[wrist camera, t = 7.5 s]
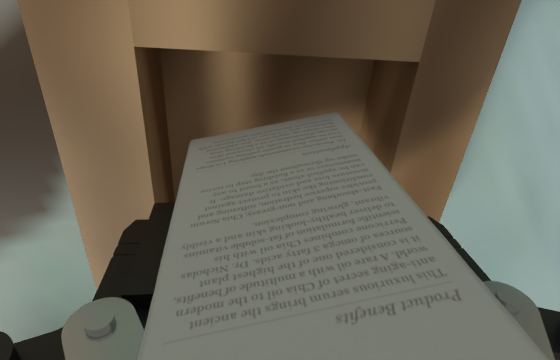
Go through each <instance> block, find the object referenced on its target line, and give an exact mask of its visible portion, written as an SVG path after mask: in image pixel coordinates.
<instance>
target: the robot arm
mask: <svg viewBox="0 0 560 360" xmlns="http://www.w3.org/2000/svg"><path fill="white" fill-rule="evenodd" d="M174 206H175V203H154V205H153V208H152V211H151V214H150V217H149V219H138V220H135V221H134V222H133V223H131V224H130V225H129V226H128V227H127V228H126V229H125V230H124V231H123V233H122V235H121V237H120V240H119V242H118V246H117V247H116V249H115V251H114V253H113V257H112V258H111V260H110V262H109V265H108V267H107V269H106V271H105V274H104V276H103V278H102V280H101V283H100V285H99V287H98V289H97V292H96V294H95V296H94V299H93V301H92V302H90V303H88V304H86V305H84V306H82V307H81V308H80V309H78V310H77V311H76V312H75V313H73V314H72V315H71V316H70V318H69V319H68V320H67V322H66V323H65V325H64V327H62V328H60V329H58V330H56V331H53V332H50V333H47V334H43V335H40V336H37V337H34V338H30V339H27V340H24V341H21V342H17V343H14V344H13V342H12V340H11V338H10V337H9V336H8V335H7V334H6V333H4V332H0V360H137V359H138V355H139V351H140V347H141V342H142V338H143V334H144V330H145V327H146V323H147V318H148V314H149V309H150V305H151V301H152V298H153V294H154V290H155V285H156V281H157V276H158V272H159V268H160V263H161V259H162V255H163V251H164V247H165V243H166V238H167V235H168V231H169V226H170V222H171V218H172V214H173V210H174ZM427 217H428V218H429V220H430V221H431V222H432V223H433V224H434V225H435V227H436V228H437V229H438V230H439V231H440V232H441V234H442V235H443V236H444V237H445V238H446V239H447V241H448V242H449V243H450V244H451V245H452V247H453V248H454V249H455V250H456V252H457V253H458V254H459V255H460V256H461V257H462V259H463V260H464V261H465V262H466V263H467V265H468V266H469V267H470V268H471V269H472V270H473V272H474V273H475V274H476V275H477V276H478V277H479V278H480V280H481V281H482V282H483V283H484V284H485V285H486V286H487V287H488V289H489V290H490V291H491V292H492V294H493V295H494V296H495V297H496V298H497V299H498V301H499V302H500V303H501V304H502V305H503V306H504V307H505V309H506V310H507V311H508V312H509V313H510V314H511V315H512V317H513V318H514V319H515V320H516V321H517V322H518V324H519V325H520V326H521V327H522V328H523V329H524V331H525V332H526V333H527V334H528V335H529V337H530V338H531V339H532V340H533V341H534V343H535V344H536V345H537V346H538V347H539V348H540V350H541V351H542V352H543V353H544V354H545V355H546V357H547V358H548V359H549V360H560V312H558V311H553V310H548V309H544V308H539V307H537V306H536V305H535V303H534V302H533V301H532V300H531V299H530V298H529V297H528V296H526V295H525V294H524V293H522V292H521V291H519V290H518V289H516V288H514V287H512V286H510V285H507V284H504V283H501V282H497V281H491V280H490V279H489V277H488V276H487V275H486V274H485V273H484V272H483V271H482V269H481V268H480V267H479V266H478V265H477V264H476V263H475V261H474V260H473V259H472V258H471V257H470V256H469V255H468V253H467V252H466V251H465V250H464V249H463V248H461V245H460V244H459V243H458V242H457V241H456V240H455V239H453V236H452V235H451V234H450V233H449V232H448V230H447V229H446V228H445V227H444V226H443V225H442V224H440V223H439V222H437V221H436V220H434V219H433V218H431V217H430V216H427Z"/></svg>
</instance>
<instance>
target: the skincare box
mask: <svg viewBox="0 0 560 360" xmlns="http://www.w3.org/2000/svg"><path fill="white" fill-rule="evenodd" d="M137 360H549V359H548V358H547V357H546V355H545V354H544V353H543V352H542V351H541V350H540V348H539V347H538V346H537V345H536V344H535V343H534V341H533V340H532V339H531V338H530V337H529V335H528V334H527V333H526V332H525V331H524V329H523V328H522V327H521V326H520V325H519V324H518V322H517V321H516V320H515V319H514V318H513V317H512V315H511V314H510V313H509V312H508V311H507V310H506V309H505V307H504V306H503V305H502V304H501V303H500V302H499V301H498V299H497V298H496V297H495V296H494V295H493V294H492V292H491V291H490V290H489V289H488V287H487V286H486V285H485V284H484V283H483V282H482V281H481V280H480V278H479V277H478V276H477V275H476V274H475V273H474V272H473V270H472V269H471V268H470V267H469V266H468V265H467V263H466V262H465V261H464V260H463V259H462V257H461V256H460V255H459V254H458V253H457V252H456V250H455V249H454V248H453V247H452V245H451V244H450V243H449V242H448V241H447V239H446V238H445V237H444V236H443V235H442V234H441V232H440V231H439V230H438V229H437V228H436V227H435V225H434V224H433V223H432V222H431V221H430V220H429V218H428V217H427V216H426V215H425V213H424V212H423V211H422V210H421V209H420V208H419V207H418V205H417V204H416V203H415V202H414V201H413V200H412V198H411V197H410V196H409V195H408V194H407V193H406V191H405V190H404V189H403V188H402V187H401V186H400V184H399V183H398V182H397V181H396V180H395V178H394V177H393V176H392V175H391V174H390V172H389V171H388V170H387V169H386V167H385V166H384V165H383V164H382V163H381V162H380V161H379V159H378V158H377V157H376V156H375V155H374V153H373V152H372V151H371V150H370V149H369V147H368V146H367V145H366V144H365V143H364V142H363V140H362V139H361V138H360V137H359V136H358V135H357V133H356V132H355V131H354V130H353V129H352V127H351V126H350V125H349V124H348V123H347V122H346V120H345V119H344V118H343V117H342V116H341V115H340V114H339V113H337V112H332V113H327V114H322V115H317V116H312V117H307V118H302V119H297V120H292V121H287V122H281V123H276V124H271V125H266V126H261V127H256V128H251V129H246V130H241V131H236V132H231V133H226V134H221V135H216V136H210V137H205V138H200V139H194V140H191V141H190V144H189V148H188V152H187V156H186V160H185V164H184V169H183V173H182V177H181V181H180V185H179V190H178V194H177V198H176V202H175V206H174V210H173V214H172V218H171V222H170V226H169V231H168V235H167V238H166V243H165V247H164V251H163V255H162V259H161V263H160V268H159V272H158V276H157V281H156V285H155V290H154V294H153V298H152V301H151V305H150V309H149V314H148V318H147V323H146V327H145V330H144V334H143V338H142V342H141V347H140V351H139V355H138V359H137Z"/></svg>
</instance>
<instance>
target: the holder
mask: <svg viewBox="0 0 560 360" xmlns="http://www.w3.org/2000/svg"><path fill="white" fill-rule="evenodd" d="M17 1H18V5H19V8H20V12H21V16H22V19H23V23H24V27H25V31H26V34H27V38H28V41H29V45H30V49H31V53H32V56H33V60H34V64H35V67H36V71H37V74H38V78H39V82H40V86H41V89H42V93H43V97H44V100H45V104H46V107H47V111H48V115H49V118H50V122H51V125H52V129H53V133H54V137H55V140H56V144H57V148H58V151H59V155H60V159H61V162H62V166H63V170H64V173H65V177H66V181H67V184H68V188H69V192H70V195H71V199H72V203H73V206H74V210H75V214H76V217H77V221H78V225H79V228H80V232H81V236H82V239H83V243H84V247H85V250H86V254H87V258H88V261H89V265H90V269H91V272H92V276H93V280H94V283H95V287H96V291H97V289H98V287H99V285H100V283H101V280H102V278H103V276H104V274H105V271H106V269H107V267H108V265H109V262H110V260H111V258H112V257H113V253H114V251H115V249H116V247H117V246H118V242H119V240H120V237H121V235H122V233H123V231H124V230H125V229H126V228H127V227H128V226H129V225H130V224H131V223H133V222H134V221H135V220H138V219H149V217H150V214H151V211H152V208H153V205H154V203H175V202H176V198H177V194H178V190H179V185H180V181H181V177H182V173H183V169H184V164H185V160H186V156H187V152H188V148H189V144H190V141H191V140H194V139H200V138H205V137H210V136H216V135H221V134H226V133H231V132H236V131H241V130H246V129H251V128H256V127H261V126H266V125H271V124H276V123H281V122H287V121H292V120H297V119H302V118H307V117H312V116H317V115H322V114H327V113H332V112H337V113H339V114H340V115H341V116H342V117H343V118H344V119H345V120H346V122H347V123H348V124H349V125H350V126H351V127H352V129H353V130H354V131H355V132H356V133H357V135H358V136H359V137H360V138H361V139H362V140H363V142H364V143H365V144H366V145H367V146H368V147H369V149H370V150H371V151H372V152H373V153H374V155H375V156H376V157H377V158H378V159H379V161H380V162H381V163H382V164H383V165H384V166H385V167H386V169H387V170H388V171H389V172H390V174H391V175H392V176H393V177H394V178H395V180H396V181H397V182H398V183H399V184H400V186H401V187H402V188H403V189H404V190H405V191H406V193H407V194H408V195H409V196H410V197H411V198H412V200H413V201H414V202H415V203H416V204H417V205H418V207H419V208H420V209H421V210H422V211H423V212H424V213H425V215H426V216H430V217H431V218H433V219H434V220H436V221H437V222H439V221H440V218H441V215H442V213H443V210H444V207H445V205H446V202H447V199H448V197H449V194H450V191H451V189H452V186H453V183H454V180H455V178H456V175H457V172H458V170H459V167H460V164H461V162H462V159H463V156H464V154H465V151H466V148H467V145H468V143H469V140H470V137H471V135H472V132H473V129H474V127H475V124H476V121H477V119H478V116H479V113H480V110H481V108H482V105H483V102H484V100H485V97H486V94H487V92H488V89H489V86H490V84H491V81H492V78H493V75H494V73H495V70H496V67H497V65H498V62H499V59H500V57H501V54H502V51H503V48H504V46H505V43H506V40H507V38H508V35H509V32H510V30H511V27H512V24H513V22H514V19H515V16H516V13H517V11H518V8H519V5H520V3H521V0H17Z"/></svg>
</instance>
